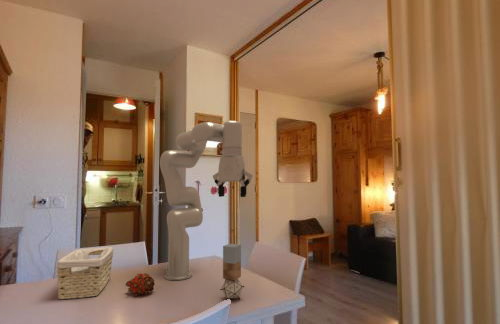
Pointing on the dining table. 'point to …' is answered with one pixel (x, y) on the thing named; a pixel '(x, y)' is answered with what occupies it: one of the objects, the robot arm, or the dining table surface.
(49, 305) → the dining table surface
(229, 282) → the beige geometric ornament
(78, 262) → the storage basket
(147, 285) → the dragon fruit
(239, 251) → the block
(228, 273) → the block
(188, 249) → the robot arm
